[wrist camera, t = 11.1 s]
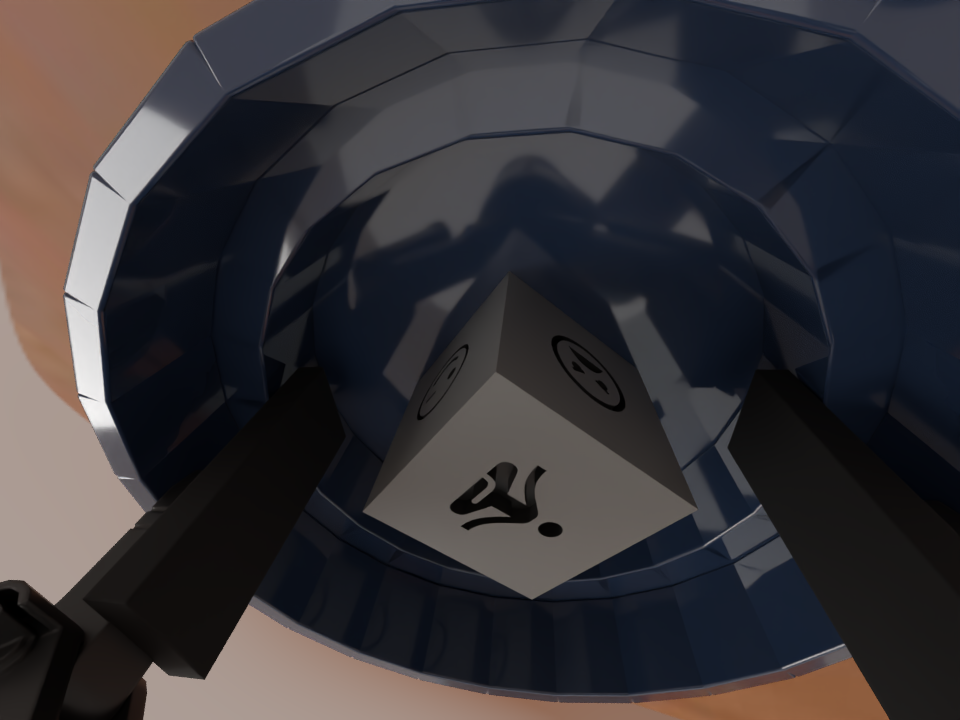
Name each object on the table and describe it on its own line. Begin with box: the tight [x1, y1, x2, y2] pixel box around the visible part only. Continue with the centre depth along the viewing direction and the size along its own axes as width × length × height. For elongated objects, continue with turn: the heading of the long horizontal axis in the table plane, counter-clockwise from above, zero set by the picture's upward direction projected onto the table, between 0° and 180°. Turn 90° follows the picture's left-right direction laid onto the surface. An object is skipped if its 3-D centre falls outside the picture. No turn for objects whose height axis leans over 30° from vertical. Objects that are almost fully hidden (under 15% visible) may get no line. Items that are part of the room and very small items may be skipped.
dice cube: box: [363, 271, 698, 599], centre depth 10 cm, size 5×5×5 cm
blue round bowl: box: [63, 0, 960, 703], centre depth 10 cm, size 17×17×6 cm
